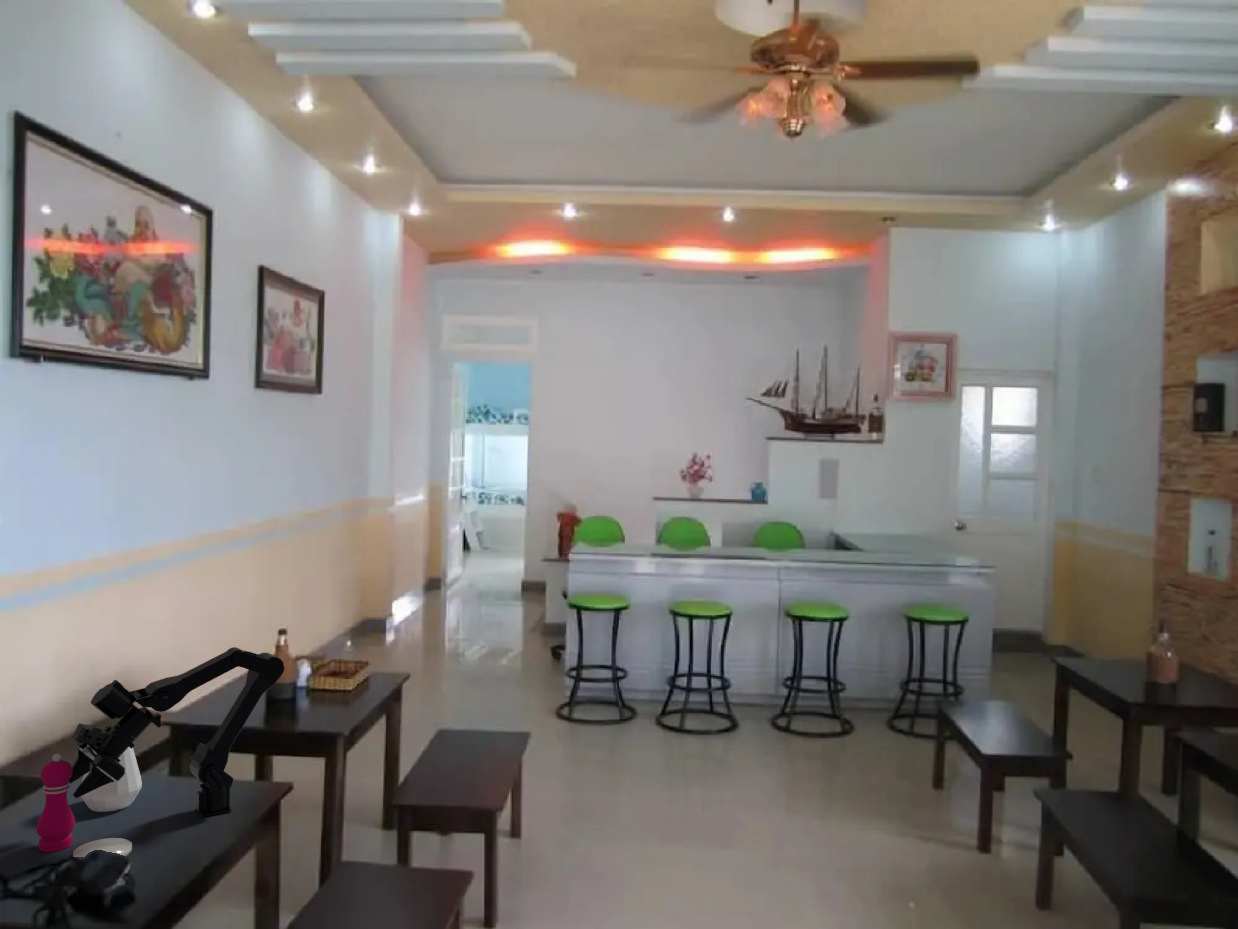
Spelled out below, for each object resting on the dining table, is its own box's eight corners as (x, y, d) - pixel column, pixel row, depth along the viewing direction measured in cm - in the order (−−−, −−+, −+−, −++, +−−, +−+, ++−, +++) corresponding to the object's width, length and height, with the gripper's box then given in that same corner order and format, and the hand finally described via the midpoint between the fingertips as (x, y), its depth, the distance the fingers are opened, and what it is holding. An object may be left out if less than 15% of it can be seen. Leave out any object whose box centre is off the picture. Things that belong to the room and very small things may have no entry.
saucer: (127, 838, 214) (127, 834, 214) (135, 857, 205) (135, 852, 205) (70, 849, 208) (70, 845, 208) (75, 869, 199) (76, 864, 199)
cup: (136, 812, 229) (137, 754, 228) (72, 817, 225) (73, 757, 224) (146, 792, 241) (147, 736, 241) (86, 796, 238) (87, 739, 237)
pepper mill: (33, 855, 205) (34, 761, 204) (38, 842, 211) (39, 750, 211) (72, 850, 207) (74, 757, 207) (76, 837, 214) (77, 747, 213)
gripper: (87, 700, 221) (30, 758, 214) (109, 720, 207) (49, 782, 200) (124, 729, 226) (70, 786, 219) (148, 750, 212) (91, 811, 205)
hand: (69, 790), depth 211 cm, fingers open, 9 cm apart
